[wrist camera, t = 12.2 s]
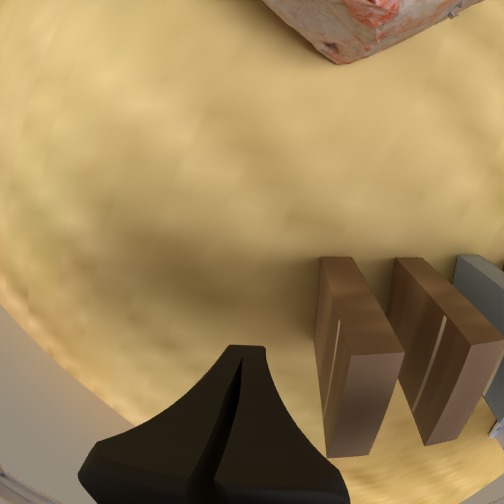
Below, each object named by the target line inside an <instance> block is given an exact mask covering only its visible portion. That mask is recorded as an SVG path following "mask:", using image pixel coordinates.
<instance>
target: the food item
mask: <svg viewBox="0 0 504 504" xmlns="http://www.w3.org/2000/svg"><path fill="white" fill-rule="evenodd" d="M263 1H264V3H265V4H266V5H267V6H268V7H269V8H270V9H272V10H273V11H274V12H275V13H276V14H277V15H278V16H279V17H280V18H281V19H282V20H283V21H284V22H285V23H286V24H288V25H289V26H291V27H292V28H294V29H295V30H296V31H297V32H299V33H300V34H301V35H302V36H303V37H305V38H306V39H307V40H308V41H309V42H310V43H312V45H313V46H314V47H315V48H316V49H317V50H318V51H319V52H320V53H322V54H323V55H325V56H326V57H327V58H329V59H330V60H332V61H333V62H334V63H336V64H337V65H339V64H341V63H343V64H349V63H352V62H354V61H357V60H360V59H363V58H366V57H368V56H371V55H373V54H375V53H378V52H380V51H383V50H385V49H387V48H389V47H391V46H393V45H396V44H398V43H400V42H402V41H404V40H406V39H408V38H410V37H412V36H414V35H416V34H418V33H420V32H421V31H423V30H425V29H427V28H429V27H431V26H433V25H435V24H437V23H439V22H441V21H443V20H445V19H447V18H448V17H449V18H450V19H452V18H454V17H456V16H458V14H456V13H458V12H460V11H462V10H464V9H466V8H468V7H469V6H471V5H474V4H476V3H479V2H482V1H484V0H263Z"/></svg>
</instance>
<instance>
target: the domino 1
mask: <svg viewBox="0 0 504 504" xmlns="http://www.w3.org/2000/svg"><path fill="white" fill-rule="evenodd" d="M314 348H315V355H316V363H317V371H318V379H319V387H320V396H321V405H322V414H323V424H324V434H325V444H326V456H327V458H340V457H353V456H364V455H369V452H370V450H371V448H372V445H373V443H374V441H375V438H376V436H377V433H378V431H379V428H380V426H381V423H382V421H383V418H384V415H385V413H386V410H387V407H388V404H389V401H390V399H391V396H392V393H393V390H394V387H395V384H396V381H397V377H398V374H399V371H400V368H401V364H402V361H403V357H404V354H405V351H404V349H403V347H402V346H401V344H400V342H399V340H398V338H397V336H396V334H395V332H394V330H393V329H392V327H391V325H390V323H389V321H388V319H387V318H386V316H385V314H384V312H383V310H382V308H381V307H380V305H379V303H378V301H377V300H376V298H375V296H374V294H373V293H372V291H371V289H370V287H369V286H368V284H367V282H366V280H365V279H364V277H363V275H362V274H361V272H360V270H359V269H358V267H357V265H356V264H355V262H354V260H353V259H352V257H320V269H319V284H318V298H317V310H316V322H315V333H314Z"/></svg>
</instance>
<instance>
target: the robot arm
mask: <svg viewBox="0 0 504 504" xmlns="http://www.w3.org/2000/svg"><path fill="white" fill-rule="evenodd" d="M495 437H496V438H497V440H498V442H499V444H500V445H501V447H502V449H503V451H504V422H503V423H501V424H499V422H498V421H497V423H496V424H495V426H494V428H493V429H492V431H491V432H490V434H489V438H490V439H492V438H495ZM78 479H79V481H80V483H81V484H82V486H83V487H84V488H85V490H86V491H87V492H88V493H89V494H90V496H91V497H92V498H93V499H94V500H95V501H96V502H97V504H351V503H350V497H349V494H348V490H347V487H346V485H345V482H344V480H343V478H342V475H341V473H340V471H339V470H338V469H337V468H336V467H335V466H334V465H333V464H331V463H330V462H329V461H328V460H327V459H326V458H325V457H324V456H323V455H322V454H321V453H320V452H319V451H318V450H317V449H316V448H315V447H314V446H313V445H312V444H311V442H310V441H309V440H308V439H307V438H306V436H305V435H304V434H303V433H302V431H301V430H300V429H299V428H298V426H297V425H296V423H295V422H294V420H293V419H292V417H291V416H290V414H289V413H288V411H287V409H286V407H285V406H284V404H283V402H282V400H281V398H280V396H279V394H278V392H277V390H276V387H275V385H274V382H273V380H272V377H271V374H270V371H269V368H268V364H267V360H266V348H264V347H263V346H249V345H229V346H228V347H227V348H226V349H225V351H224V352H223V353H222V355H221V356H220V357H219V359H218V360H217V361H216V362H215V364H214V365H213V366H212V367H211V368H210V370H209V371H208V372H207V373H206V374H205V375H204V376H203V377H202V378H201V380H200V381H198V382H197V383H196V384H195V385H194V386H193V387H192V388H191V389H190V390H189V391H188V392H187V393H186V394H185V395H184V396H183V397H181V398H180V399H179V400H178V401H176V402H175V403H174V404H173V405H171V406H170V407H168V408H167V409H166V410H164V411H163V412H161V413H160V414H158V415H157V416H155V417H153V418H152V419H150V420H148V421H147V422H145V423H143V424H141V425H139V426H137V427H135V428H133V429H130V430H128V431H126V432H124V433H121V434H119V435H116V436H113V437H110V438H107V439H105V440H102V441H98V442H97V443H96V444H95V446H94V447H93V448H92V450H91V451H90V453H89V454H88V456H87V458H86V460H85V462H84V463H83V465H82V467H81V469H80V471H79V472H78ZM0 504H65V503H63V502H61V501H59V500H57V499H55V498H53V497H51V496H49V495H47V494H45V493H43V492H41V491H39V490H37V489H35V488H34V487H32V486H30V485H28V484H27V483H25V482H23V481H21V480H20V479H18V478H16V477H15V476H13V475H11V474H10V473H8V472H7V471H5V470H4V469H3V467H2V466H1V465H0ZM489 504H504V497H502V498H500V499H498V500H496V501H493V502H491V503H489Z"/></svg>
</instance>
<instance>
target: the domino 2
mask: <svg viewBox="0 0 504 504" xmlns="http://www.w3.org/2000/svg"><path fill="white" fill-rule="evenodd" d="M386 318H387V319H388V321H389V323H390V325H391V327H392V329H393V330H394V332H395V334H396V336H397V338H398V340H399V342H400V344H401V346H402V347H403V349H404V351H405V354H404V357H403V361H402V364H401V368H400V371H399V374H398V379H399V382H400V384H401V387H402V389H403V392H404V394H405V396H406V399H407V401H408V404H409V407H410V409H411V412H412V414H413V417H414V419H415V422H416V425H417V427H418V430H419V433H420V435H421V438H422V441H423V444H424V446H429V445H433V444H438V443H442V442H446V441H451V440H454V439H457V438H458V436H459V434H460V433H461V431H462V429H463V428H464V426H465V424H466V423H467V421H468V419H469V417H470V416H471V414H472V412H473V410H474V408H475V407H476V405H477V403H478V401H479V399H480V397H481V395H482V393H483V391H484V389H485V387H486V385H487V383H488V381H489V379H490V376H491V374H492V372H493V370H494V368H495V365H496V363H497V361H498V358H499V356H500V353H501V351H502V348H503V346H504V337H503V336H502V335H501V334H500V333H499V331H498V330H497V329H496V328H495V327H494V326H493V325H492V324H491V323H490V322H489V321H488V320H487V319H486V318H485V317H484V316H483V315H482V314H481V313H480V312H479V311H478V310H477V309H476V308H475V307H474V306H473V305H472V304H471V303H470V302H469V301H468V300H467V299H466V298H465V297H464V296H463V295H462V294H461V293H460V292H459V291H458V290H457V289H456V288H455V287H454V286H453V285H451V284H450V283H449V282H448V281H447V280H446V279H445V278H444V277H443V276H442V275H441V274H440V273H438V272H437V271H436V270H435V269H434V268H433V267H432V266H431V265H430V264H428V263H427V262H426V261H425V260H424V259H423V258H395V265H394V272H393V278H392V285H391V291H390V297H389V302H388V308H387V313H386Z"/></svg>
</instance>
